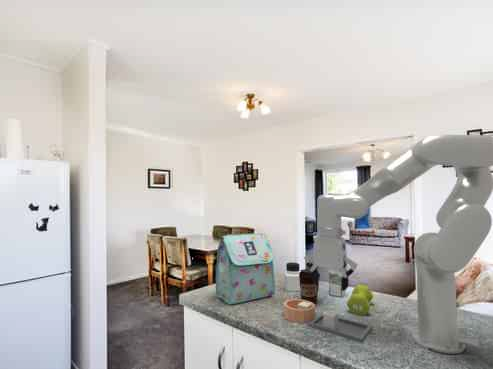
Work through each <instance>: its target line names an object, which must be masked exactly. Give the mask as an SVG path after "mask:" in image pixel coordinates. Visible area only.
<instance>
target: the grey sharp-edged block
mask: <svg viewBox="0 0 493 369" xmlns="http://www.w3.org/2000/svg"><path fill="white" fill-rule="evenodd" d="M325 311H326V312H325ZM325 311H324V312H325V313H324V312H323V313H324V314H323V326H325V327H328V328H332V329H335V330H336V329H337V328H338V317H339V313H338V312H336V311H331V310H325Z"/></svg>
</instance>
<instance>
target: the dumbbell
mask: <svg viewBox="0 0 493 369" xmlns="http://www.w3.org/2000/svg"><path fill="white" fill-rule="evenodd" d="M373 298H374V295H373V292H372V290H371V289H370V287H369V286H367V285H363V284H357V285H355V287H354V288H353V290H352V292H351V295H350V296H349V298H348V300H347V301H346V305H347V308H348V310H349V311H350V313H351V314H352V315H353V314H354V315H356V316H366V315H367V314H368V312H369V311H370V309H371V304H370V303H371V302H372V299H373Z"/></svg>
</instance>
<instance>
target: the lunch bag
mask: <svg viewBox="0 0 493 369" xmlns="http://www.w3.org/2000/svg"><path fill="white" fill-rule="evenodd" d="M216 252H217V255H216V258H217V259H216V271H215V296H216V297H217V299H222V300H223V301H224V302H225V303H229V306H230V305H234V304H235V305H236V304H240V303H241V304H242V303H244V302H249V301H252V300H257V299H263V298H266V297H271V296H273V295H275V293H276V286H275V285H276V284H275V283H276V282H275V271H274V270H275V269H274V260H275V253H274V251H273V248H272V246H271V244H270V241H269V239H268V236H267V234H266V233H242V234H241V233H240V234H232V233H229V234H226V235H223V236H221V237H220V239H219V244H218V246H217V251H216Z"/></svg>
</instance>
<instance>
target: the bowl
mask: <svg viewBox="0 0 493 369" xmlns="http://www.w3.org/2000/svg"><path fill="white" fill-rule="evenodd" d="M301 302H307V303H311V304H312V307H311V308H309V309H304V310H303V309H298V308H297V305H298V304H299V303H301ZM283 306H284V307H283V308H284V309H283V313H284V314H283V316H284V318H285V319H286V320H288V321H290V322H292V323H293V322H294V323H298V324H299V323H300V324H301V323H303V324H305V323H306V324H307V323H310V322H311V321H313V320H314V319H315V318H316V304H315V305H314V304H313V303H312V302H310V301H307V300H302V299H301V298H300V299H299V298H298V299H297V298H293V299H288V300H286V301H284V302H283Z"/></svg>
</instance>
